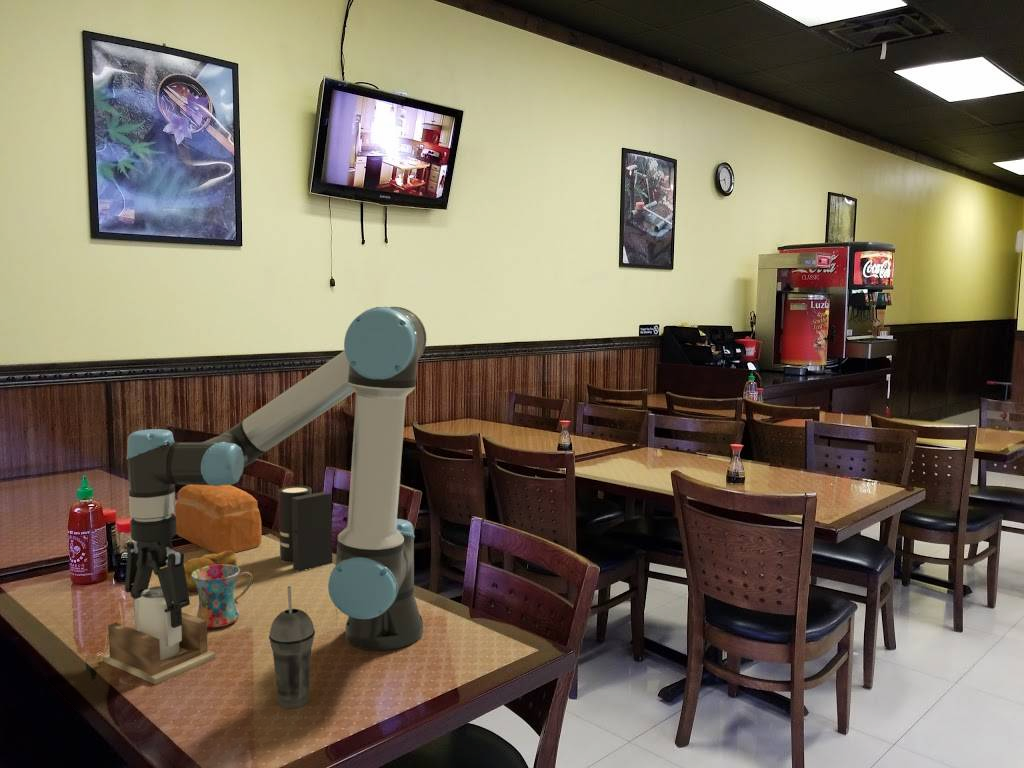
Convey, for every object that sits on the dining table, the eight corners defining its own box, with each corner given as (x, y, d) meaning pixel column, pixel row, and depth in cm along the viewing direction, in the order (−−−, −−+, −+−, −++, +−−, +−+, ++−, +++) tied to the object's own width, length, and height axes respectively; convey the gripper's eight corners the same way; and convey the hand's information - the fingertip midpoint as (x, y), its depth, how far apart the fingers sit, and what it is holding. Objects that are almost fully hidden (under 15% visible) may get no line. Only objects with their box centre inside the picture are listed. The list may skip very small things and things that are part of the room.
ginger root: (185, 598, 174) (184, 563, 173) (169, 586, 181) (167, 552, 180) (241, 584, 183) (240, 550, 182) (223, 573, 190) (222, 540, 189)
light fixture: (306, 549, 208) (305, 483, 206) (333, 562, 198) (332, 493, 196) (271, 557, 201) (269, 489, 199) (297, 571, 191) (295, 499, 189)
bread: (219, 526, 229) (217, 472, 227) (266, 546, 211) (264, 488, 209) (172, 536, 219) (169, 480, 217) (216, 558, 201) (214, 497, 199)
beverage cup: (320, 690, 134) (318, 576, 132) (311, 712, 126) (308, 592, 124) (277, 690, 133) (274, 576, 131) (265, 713, 126) (261, 592, 124)
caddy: (215, 658, 145) (214, 621, 144) (155, 684, 135) (154, 645, 134) (162, 637, 154) (161, 603, 153) (102, 661, 144) (100, 624, 143)
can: (168, 643, 149) (166, 582, 147) (186, 653, 145) (184, 590, 143) (134, 655, 144) (131, 592, 142) (151, 666, 140) (149, 601, 138)
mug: (200, 635, 155) (198, 583, 154) (187, 620, 162) (185, 570, 161) (261, 620, 162) (259, 570, 161) (245, 606, 170) (244, 558, 168)
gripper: (209, 520, 139) (213, 643, 142) (137, 502, 150) (142, 617, 153) (170, 530, 133) (176, 659, 135) (99, 511, 144) (105, 630, 147)
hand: (158, 636), depth 144 cm, fingers open, 8 cm apart
